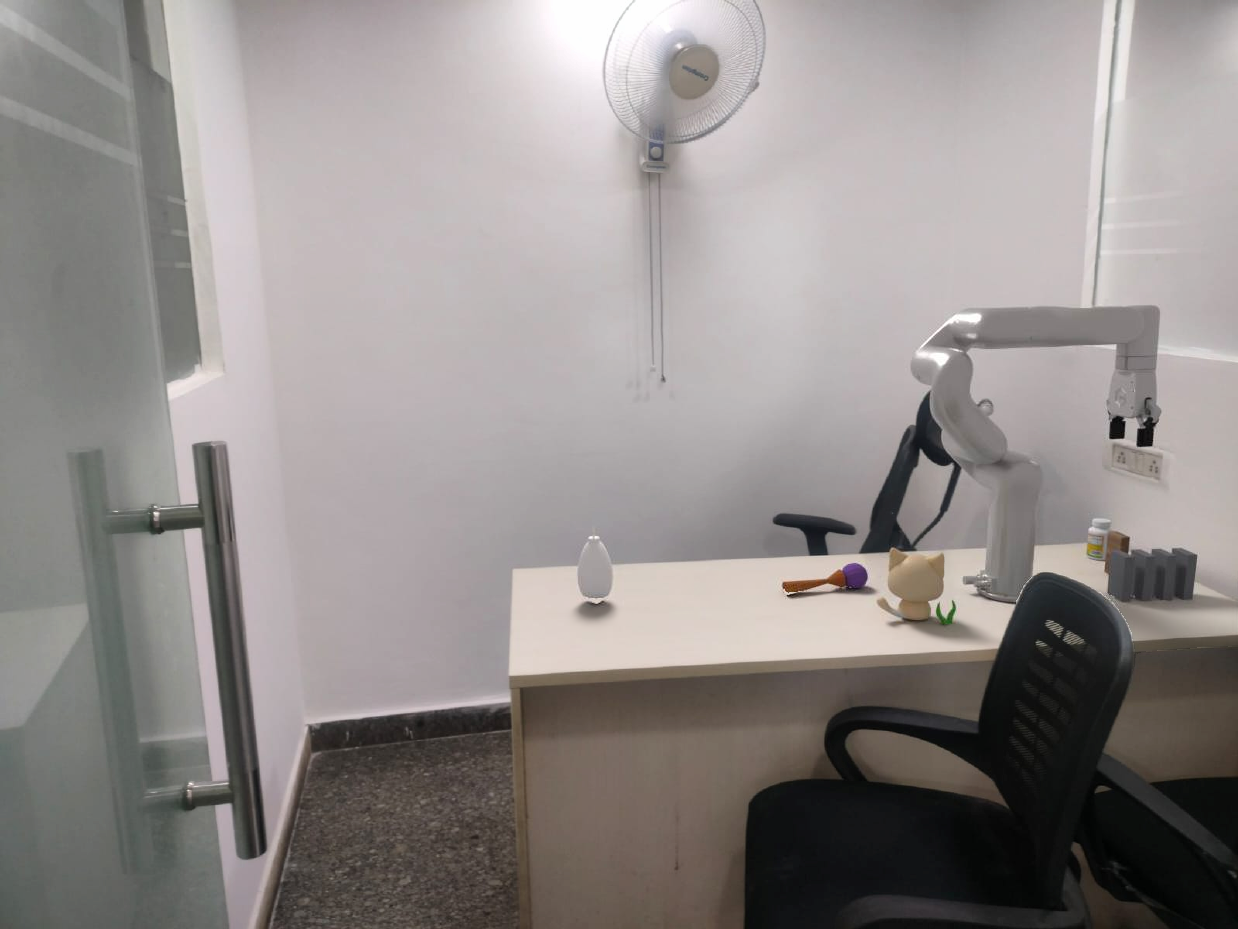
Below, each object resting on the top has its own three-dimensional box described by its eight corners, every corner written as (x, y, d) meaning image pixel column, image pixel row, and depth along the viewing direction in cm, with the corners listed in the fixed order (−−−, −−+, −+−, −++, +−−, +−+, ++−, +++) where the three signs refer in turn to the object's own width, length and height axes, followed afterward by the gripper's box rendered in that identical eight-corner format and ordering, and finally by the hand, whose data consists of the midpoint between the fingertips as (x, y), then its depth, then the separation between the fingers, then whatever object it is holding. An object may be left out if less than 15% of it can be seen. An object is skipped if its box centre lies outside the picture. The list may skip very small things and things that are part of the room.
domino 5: (1183, 599, 176) (1188, 555, 174) (1167, 591, 181) (1172, 548, 179) (1192, 599, 176) (1197, 554, 174) (1176, 591, 181) (1181, 547, 179)
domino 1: (1117, 579, 189) (1121, 537, 187) (1104, 572, 194) (1108, 531, 192) (1125, 578, 189) (1129, 537, 187) (1112, 571, 194) (1116, 531, 192)
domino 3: (1141, 601, 176) (1146, 556, 174) (1127, 593, 180) (1131, 549, 178) (1151, 601, 176) (1155, 556, 174) (1136, 592, 180) (1140, 549, 179)
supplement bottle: (1104, 554, 207) (1108, 517, 205) (1115, 561, 202) (1118, 523, 200) (1082, 554, 208) (1085, 517, 206) (1092, 561, 202) (1095, 523, 200)
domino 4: (1162, 600, 176) (1167, 556, 174) (1147, 592, 181) (1151, 549, 179) (1171, 600, 176) (1176, 555, 174) (1156, 592, 181) (1160, 548, 179)
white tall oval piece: (585, 595, 189) (582, 520, 185) (617, 598, 187) (615, 521, 183) (574, 607, 181) (570, 529, 178) (607, 610, 179) (605, 531, 176)
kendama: (778, 574, 188) (858, 559, 192) (781, 599, 188) (861, 584, 192) (788, 577, 182) (870, 562, 186) (792, 604, 182) (874, 588, 186)
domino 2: (1121, 602, 175) (1125, 557, 173) (1106, 594, 180) (1111, 550, 178) (1130, 601, 176) (1134, 557, 174) (1115, 593, 180) (1120, 550, 178)
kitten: (957, 614, 171) (960, 546, 168) (953, 632, 162) (957, 560, 160) (883, 605, 178) (885, 538, 175) (875, 621, 169) (877, 551, 166)
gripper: (1094, 361, 183) (1090, 437, 187) (1143, 368, 167) (1137, 450, 170) (1128, 360, 183) (1123, 435, 187) (1180, 366, 166) (1174, 448, 170)
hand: (1130, 442), depth 178 cm, fingers open, 9 cm apart
